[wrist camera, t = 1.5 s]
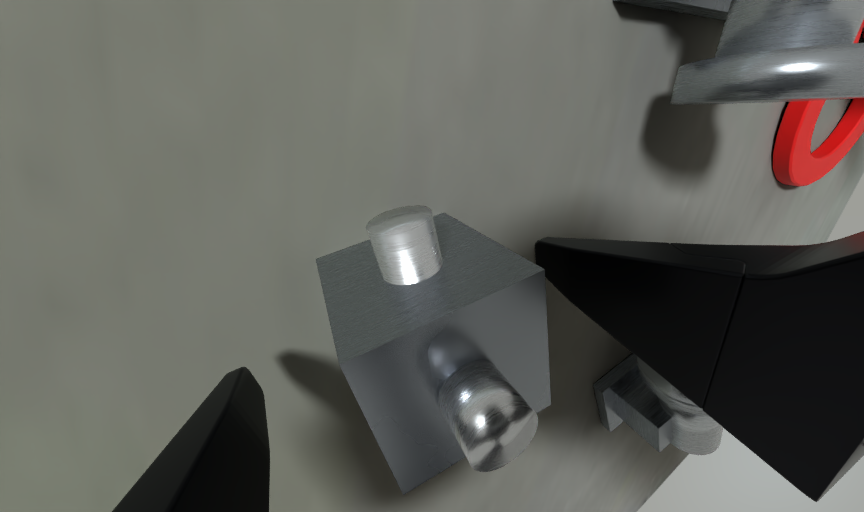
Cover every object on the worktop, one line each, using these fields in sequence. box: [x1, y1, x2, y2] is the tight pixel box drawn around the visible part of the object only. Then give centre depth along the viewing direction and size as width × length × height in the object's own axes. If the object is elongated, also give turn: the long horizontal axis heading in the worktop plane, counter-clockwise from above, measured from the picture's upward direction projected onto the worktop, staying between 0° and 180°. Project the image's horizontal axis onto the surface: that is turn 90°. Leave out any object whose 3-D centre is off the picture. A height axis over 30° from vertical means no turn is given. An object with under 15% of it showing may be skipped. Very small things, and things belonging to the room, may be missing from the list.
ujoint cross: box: [316, 206, 551, 495], centre depth 8 cm, size 6×4×6 cm, turn 13°
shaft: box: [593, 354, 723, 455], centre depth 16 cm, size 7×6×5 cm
